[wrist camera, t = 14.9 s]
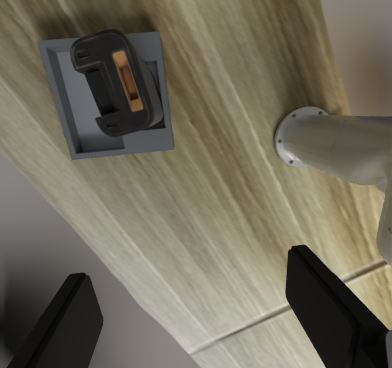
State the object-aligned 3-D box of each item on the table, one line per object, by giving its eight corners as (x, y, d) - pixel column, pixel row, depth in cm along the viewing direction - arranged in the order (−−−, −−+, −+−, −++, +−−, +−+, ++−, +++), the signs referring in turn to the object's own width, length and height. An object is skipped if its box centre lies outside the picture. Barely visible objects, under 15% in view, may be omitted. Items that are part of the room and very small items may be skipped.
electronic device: (119, 76, 38) (60, 41, 19) (151, 67, 38) (123, 22, 19) (137, 127, 41) (102, 141, 22) (167, 119, 41) (157, 125, 22)
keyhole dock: (161, 39, 37) (159, 31, 34) (174, 146, 44) (173, 149, 40) (51, 48, 37) (37, 40, 33) (81, 155, 43) (71, 159, 39)
